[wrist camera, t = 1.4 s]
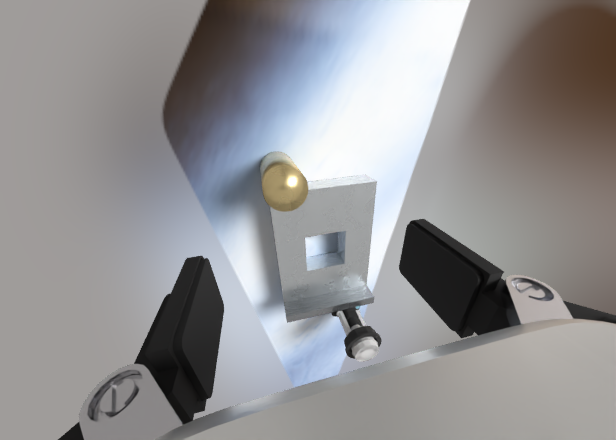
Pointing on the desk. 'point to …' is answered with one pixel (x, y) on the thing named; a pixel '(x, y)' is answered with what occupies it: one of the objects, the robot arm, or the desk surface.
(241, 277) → the desk surface
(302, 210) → the jig
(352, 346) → the push button
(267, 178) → the gold domed cylinder
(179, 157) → the desk surface
